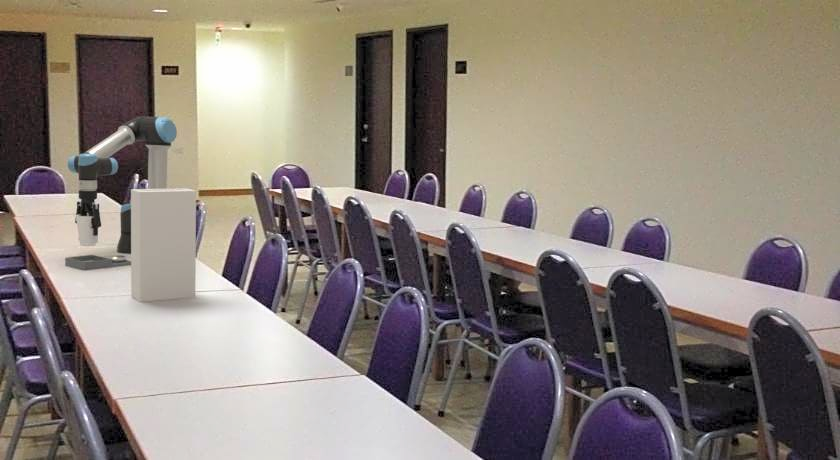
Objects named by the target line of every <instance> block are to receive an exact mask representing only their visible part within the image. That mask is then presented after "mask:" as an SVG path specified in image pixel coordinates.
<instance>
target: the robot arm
mask: <svg viewBox="0 0 840 460" xmlns="http://www.w3.org/2000/svg"><path fill="white" fill-rule="evenodd" d="M177 133H178V132H177V127H176V124H175V123H174V121H173V120H172V119H171V118H169V117H164V116H145V115H142V116H137V117H135V118H133V119H130V120H129V121H126V122H125V123H123V124H122V125H120V126H119V127H118V128H117V131H115V132H114V133H112V134H111V135H109V136H108V137H106V138H105V139H103V140H102V141H100V142H99V143H97V144H95V145H94V146H93V147H91V148H90V149H88V150H87V151H85V152H84V153H80V154H79V155H72V156H70V157H69V159H68V160H67V167H68V171H70V172H71V173H73V174H78V189H79V190H78V200H80V201H76V213H75V216H76V215H79V214H80V215H81V216H86V215H87V214H89V216H93V217H94V218H91V224H92V227H91V243H96V244H98V243H99V241H98V239H99V237H98V236H99V228H100V227H102V222H101V214H100V213H101V212H100V203H96V202H95V200H96V199H98V191H97V189H98V176H111V175H114V174H116V173H117V172H118V169H119V163H118V161H117V160H116V159H115V158H114V157H111V156H112V155H114V154H116V153H117V152H118V151H120V150H122V149H123V148H124V147H126V146H127V145H133V144H134V143H136V142H145V147H147V150H148V163H147V166H148V167H147V189H168V187H167V185H168V179H167V178H168V153H169V152H168V150H169V149H170V148H171V147H172V143H173V142H174V141H175V140H176V138H177ZM119 215H120V238H119V240H118V243H117V245H116V251H117V252H118V253H123V254H124V253H125V254H131V203H126V204H122V205H121V207H120V214H119ZM74 223H75V224H77V221H76V218H75V220H74Z"/></svg>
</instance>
